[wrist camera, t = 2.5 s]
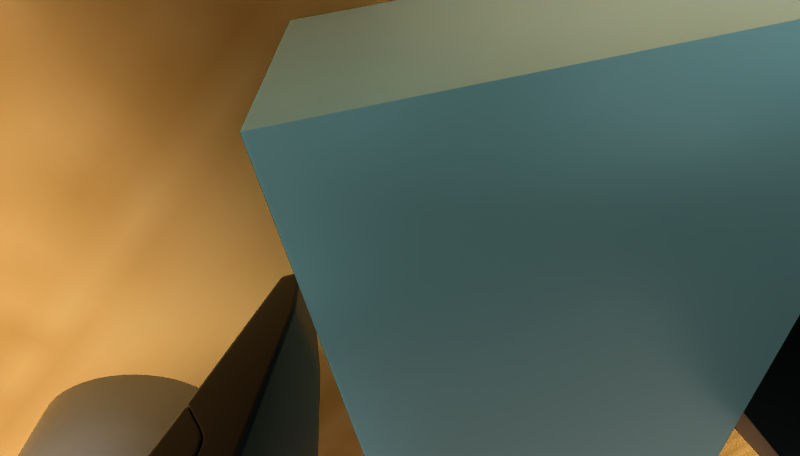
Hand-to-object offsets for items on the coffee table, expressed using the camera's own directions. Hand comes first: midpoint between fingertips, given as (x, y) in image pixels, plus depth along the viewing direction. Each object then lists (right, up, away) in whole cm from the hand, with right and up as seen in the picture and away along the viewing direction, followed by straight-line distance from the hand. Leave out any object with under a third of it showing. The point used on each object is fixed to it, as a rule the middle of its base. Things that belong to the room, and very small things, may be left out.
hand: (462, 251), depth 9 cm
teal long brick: (0, +1, +1) cm, 1 cm away
